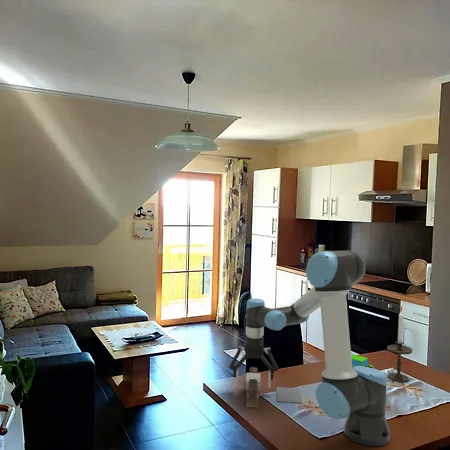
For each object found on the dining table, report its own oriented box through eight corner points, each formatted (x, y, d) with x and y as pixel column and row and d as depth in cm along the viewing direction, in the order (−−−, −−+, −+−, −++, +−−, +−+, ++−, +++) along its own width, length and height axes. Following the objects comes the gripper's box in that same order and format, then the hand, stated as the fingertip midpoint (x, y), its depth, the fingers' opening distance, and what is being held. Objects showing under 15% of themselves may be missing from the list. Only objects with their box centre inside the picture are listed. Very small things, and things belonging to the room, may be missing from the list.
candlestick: (411, 384, 198) (414, 308, 197) (386, 380, 202) (389, 305, 201) (410, 376, 208) (413, 303, 207) (386, 372, 212) (389, 301, 211)
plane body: (258, 407, 171) (259, 382, 171) (246, 406, 172) (246, 381, 171) (258, 381, 197) (259, 359, 197) (247, 381, 197) (248, 359, 197)
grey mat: (302, 403, 176) (302, 402, 176) (277, 402, 177) (277, 401, 177) (299, 389, 190) (299, 388, 190) (276, 388, 191) (276, 387, 191)
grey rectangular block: (260, 391, 180) (260, 381, 179) (245, 390, 180) (245, 380, 180) (260, 382, 188) (260, 373, 188) (246, 381, 189) (246, 372, 189)
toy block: (375, 376, 208) (376, 355, 207) (363, 383, 198) (364, 362, 198) (355, 370, 215) (356, 350, 214) (342, 377, 205) (343, 356, 205)
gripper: (283, 334, 186) (282, 383, 187) (225, 332, 188) (224, 380, 189) (284, 340, 179) (283, 391, 180) (224, 337, 181) (222, 387, 181)
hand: (253, 385), depth 184 cm, fingers open, 13 cm apart
